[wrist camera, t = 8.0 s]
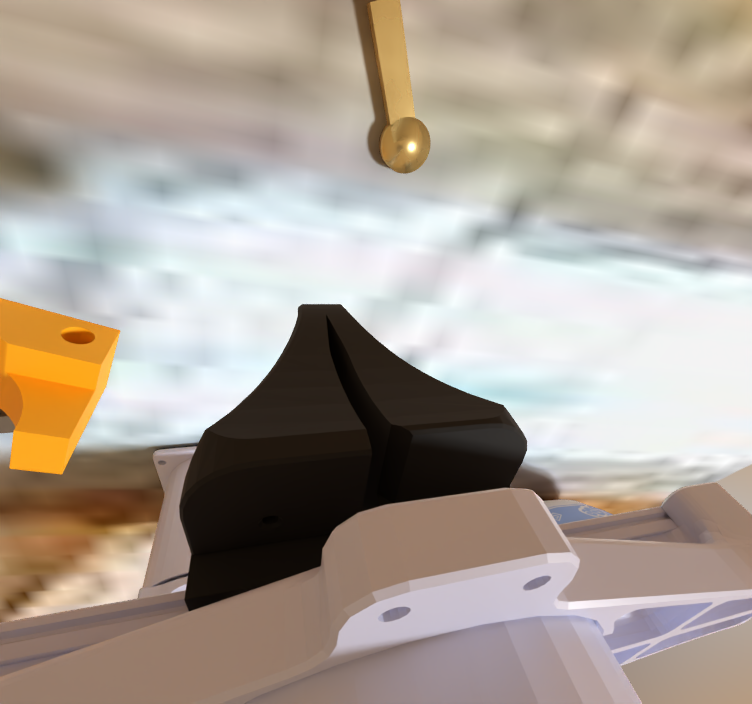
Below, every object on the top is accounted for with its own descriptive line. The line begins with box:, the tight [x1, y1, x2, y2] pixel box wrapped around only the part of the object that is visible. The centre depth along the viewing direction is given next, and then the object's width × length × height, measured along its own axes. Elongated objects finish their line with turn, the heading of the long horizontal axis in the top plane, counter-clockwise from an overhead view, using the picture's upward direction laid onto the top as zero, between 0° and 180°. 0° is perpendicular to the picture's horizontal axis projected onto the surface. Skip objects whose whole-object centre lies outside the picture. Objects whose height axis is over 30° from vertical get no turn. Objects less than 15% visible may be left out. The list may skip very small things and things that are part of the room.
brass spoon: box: [367, 0, 430, 173], centre depth 17 cm, size 6×2×1 cm, turn 13°
